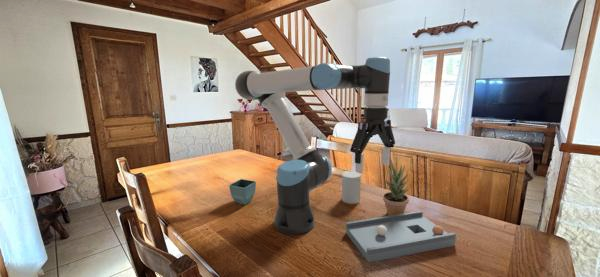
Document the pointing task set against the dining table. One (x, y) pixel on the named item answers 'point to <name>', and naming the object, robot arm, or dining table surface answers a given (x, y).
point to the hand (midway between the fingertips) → (372, 168)
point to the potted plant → (396, 192)
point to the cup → (351, 187)
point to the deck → (396, 236)
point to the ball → (381, 230)
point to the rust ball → (438, 230)
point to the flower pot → (242, 191)
